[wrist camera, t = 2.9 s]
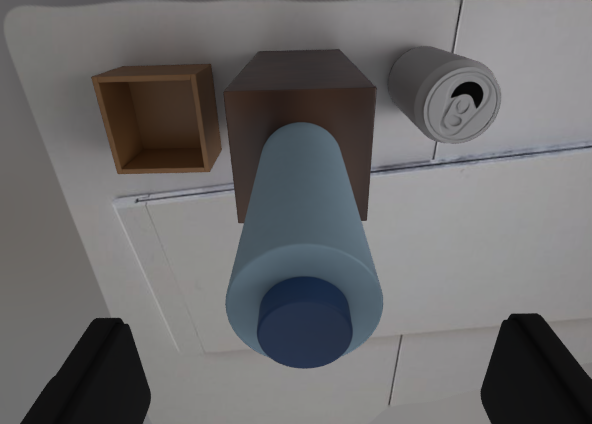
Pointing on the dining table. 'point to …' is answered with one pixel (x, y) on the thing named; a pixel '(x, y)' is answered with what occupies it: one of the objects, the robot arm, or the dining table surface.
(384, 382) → the dining table surface
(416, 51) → the beverage can
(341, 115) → the plinth
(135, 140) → the open wooden box
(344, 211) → the bottle
